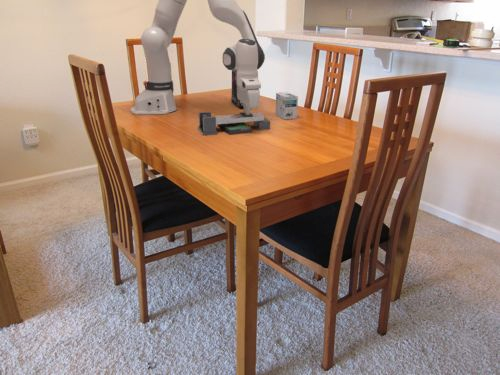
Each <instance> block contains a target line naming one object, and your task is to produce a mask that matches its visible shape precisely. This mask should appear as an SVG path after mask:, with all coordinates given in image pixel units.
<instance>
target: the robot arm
mask: <svg viewBox="0 0 500 375" xmlns="http://www.w3.org/2000/svg"><path fill="white" fill-rule="evenodd" d="M187 2H188V0H158V3H157V5H156V7H155V9H154V10H155V13H154V17H153V20H152V22H151V23H152V24H151V26H150V27H147V28H146V29H144V31H143V32H142V34H141V37H140V43H141V45H142V46H141V47H142V48H143V52H144V57H145V60H146V65H147V76H148V78H147V79H148V81H146V80H144V81H143V86H144V89H143V91H142V92H140V93H139V94H138V95H137V96H136V97H135V100H134V105H133V106H132V107H131V108H130V113H131V114H133V115H168V114H169V113H172V112H175V111H177V110H178V108H177V104H176V102H175V96H174V91H175V90H174V82H173V80H172V78H173V77H172V64H171V62H170V57H169V52H168V48H169V47H170V45H171V43H172V41H173V39H174V36H175V33H176V29H177V26H178V23H179V20H180V18H181V16H182V13H183V10H184V9H185V7H186V4H187ZM207 4H208V6H209V8H208V9H209V11H210V12H211V14H212V16H213V17H214V18H215V19H216V20H218V21H220V22H222V23H225V24H228V25H231V26H233V27H234V28H235V29H237V30H238V32H239V34H240V36H241V39H238V40H237V42H236V44H234V45H232V46H229V47H226V48H225V49H224V51H223V53H222V64H223V66H224V67H225V68H226V70H229V71H232V70H237V98H238V99H239V100H240V101H241V102H243V106H244V108H243V110H244V113H245V114H246V115H250V113H251V109H258V108H259V105H260V97H261V96H260V95H261V94H260V93H261V92H260V89H261V88H262V83H261V81H260V79H259V71H258V70H260V68H261V67H262V66H263V64H264V63H265V60H266V59H265V58H266V56H265V55H266V54H265V52H264V50H263V48H262V47H261V45H260V43H259V42H258V39H257V37H256V34H255V31H254V29H253V27H252V24H251V22H250V20H249V18H248V15H247V14H246V12H245V10H243V9H242V8H241V7H240V5H238V3H237V1H236V0H207Z"/></svg>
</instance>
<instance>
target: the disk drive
mask: <svg viewBox="0 0 500 375" xmlns="http://www.w3.org/2000/svg"><path fill="white" fill-rule="evenodd" d="M216 127H218V128H219V129H221V130H222V131H224V132H225V133H226V134H227V135H228V136H232V135H233V136H234V135H242V134H243V135H244V134H250V133H252V131H253V129H252V127H251V126H250V125H249V124H247V123H246V122H240V123H228V124H216Z"/></svg>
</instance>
